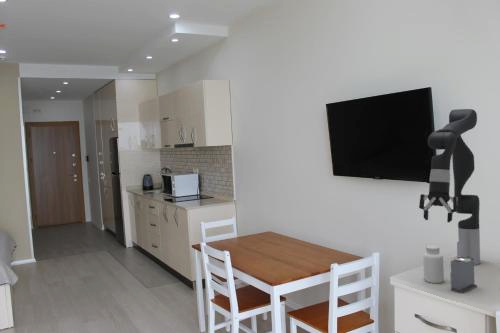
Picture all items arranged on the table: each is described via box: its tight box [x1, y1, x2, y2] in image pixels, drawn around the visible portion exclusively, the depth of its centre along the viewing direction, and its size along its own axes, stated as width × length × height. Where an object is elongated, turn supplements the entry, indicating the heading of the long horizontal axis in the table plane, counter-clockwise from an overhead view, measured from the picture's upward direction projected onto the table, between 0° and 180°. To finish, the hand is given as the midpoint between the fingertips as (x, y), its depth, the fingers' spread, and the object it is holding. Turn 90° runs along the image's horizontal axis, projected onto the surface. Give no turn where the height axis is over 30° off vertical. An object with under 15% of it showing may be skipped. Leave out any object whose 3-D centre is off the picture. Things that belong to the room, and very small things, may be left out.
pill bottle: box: [422, 245, 445, 284], centre depth 188 cm, size 8×8×15 cm
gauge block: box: [449, 255, 478, 295], centre depth 177 cm, size 6×11×13 cm, turn 123°
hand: (437, 221), depth 174 cm, fingers open, 8 cm apart
